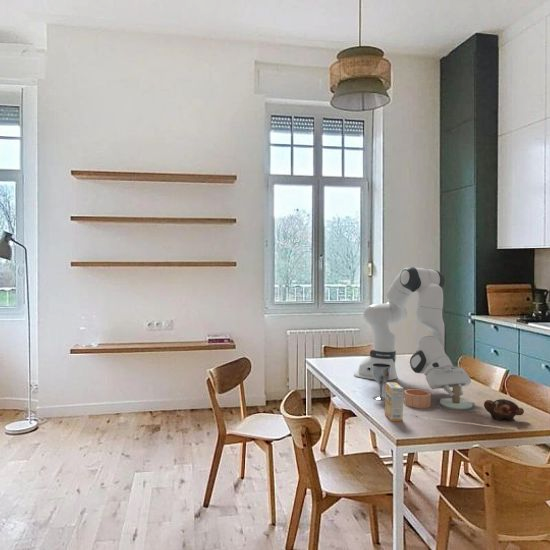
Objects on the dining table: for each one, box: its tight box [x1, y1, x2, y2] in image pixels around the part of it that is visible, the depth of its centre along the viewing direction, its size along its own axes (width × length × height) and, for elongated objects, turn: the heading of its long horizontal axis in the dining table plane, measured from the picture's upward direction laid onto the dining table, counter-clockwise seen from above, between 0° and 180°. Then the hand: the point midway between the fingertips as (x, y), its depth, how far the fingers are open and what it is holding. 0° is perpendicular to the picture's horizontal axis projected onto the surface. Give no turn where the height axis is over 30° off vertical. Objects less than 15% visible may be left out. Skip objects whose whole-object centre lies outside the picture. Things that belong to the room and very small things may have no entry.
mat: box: [436, 398, 476, 413], centre depth 210 cm, size 15×15×1 cm
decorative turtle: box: [483, 398, 525, 422], centre depth 193 cm, size 10×15×8 cm, turn 94°
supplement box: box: [384, 382, 405, 422], centre depth 192 cm, size 8×5×13 cm, turn 5°
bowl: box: [403, 388, 432, 409], centre depth 210 cm, size 11×11×6 cm
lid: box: [440, 386, 472, 411], centre depth 209 cm, size 13×13×8 cm
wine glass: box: [372, 363, 391, 402], centre depth 220 cm, size 8×8×15 cm
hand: (457, 395), depth 209 cm, fingers closed on lid, 3 cm apart
